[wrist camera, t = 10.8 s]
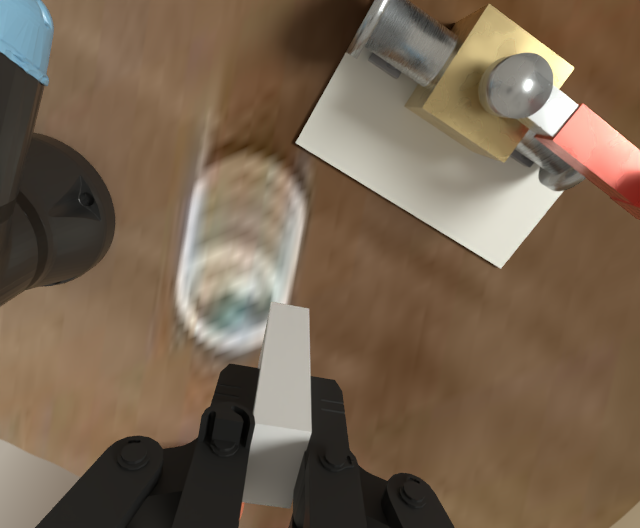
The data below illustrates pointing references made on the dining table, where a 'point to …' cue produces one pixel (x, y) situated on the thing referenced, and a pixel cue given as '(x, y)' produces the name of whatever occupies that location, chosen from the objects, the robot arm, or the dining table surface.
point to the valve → (462, 78)
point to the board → (422, 162)
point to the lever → (563, 125)
